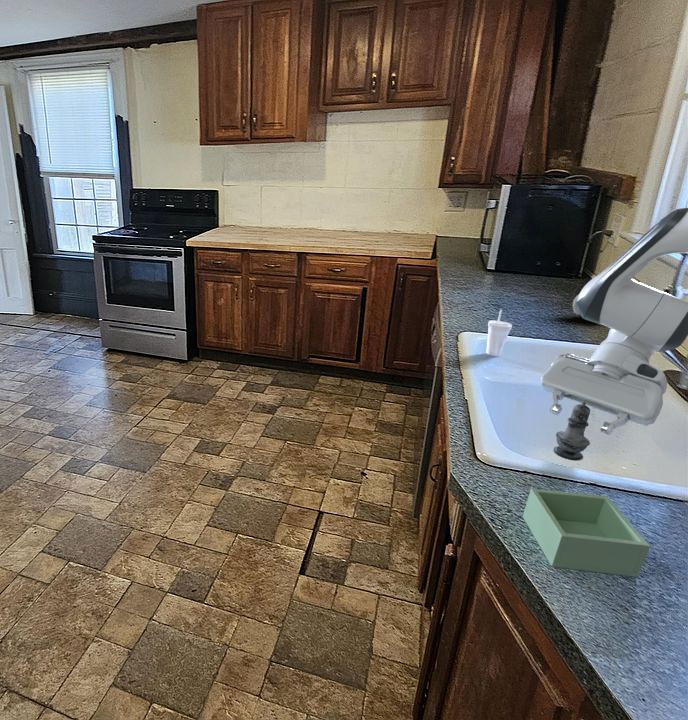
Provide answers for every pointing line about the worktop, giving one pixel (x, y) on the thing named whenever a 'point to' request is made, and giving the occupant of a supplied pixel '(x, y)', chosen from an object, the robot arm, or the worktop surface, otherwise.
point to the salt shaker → (574, 435)
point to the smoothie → (497, 335)
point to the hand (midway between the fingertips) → (578, 422)
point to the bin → (584, 533)
